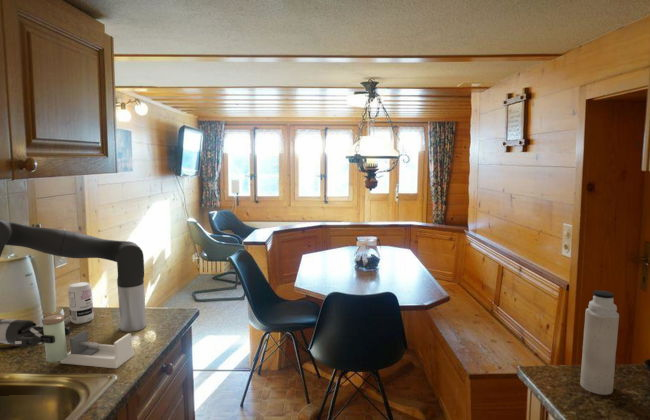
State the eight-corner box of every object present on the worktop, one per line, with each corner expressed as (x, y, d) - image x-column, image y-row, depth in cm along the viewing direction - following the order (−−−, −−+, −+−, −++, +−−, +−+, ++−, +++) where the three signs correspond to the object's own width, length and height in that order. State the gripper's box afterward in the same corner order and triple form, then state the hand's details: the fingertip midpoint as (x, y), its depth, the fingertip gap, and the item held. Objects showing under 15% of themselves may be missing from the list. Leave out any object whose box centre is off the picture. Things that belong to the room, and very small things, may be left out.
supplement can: (76, 317, 183) (73, 281, 181) (97, 316, 184) (94, 281, 182) (66, 324, 175) (63, 287, 173) (89, 323, 176) (86, 287, 174)
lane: (60, 363, 143) (58, 339, 142) (81, 350, 152) (79, 328, 151) (116, 368, 139) (114, 344, 138) (134, 355, 148) (132, 332, 147)
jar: (48, 355, 140) (44, 315, 138) (69, 352, 142) (65, 313, 140) (43, 363, 134) (39, 322, 133) (65, 360, 136) (61, 320, 135)
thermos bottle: (599, 379, 131) (607, 287, 127) (619, 394, 123) (628, 296, 119) (574, 380, 130) (580, 288, 127) (592, 395, 122) (600, 297, 119)
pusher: (71, 358, 143) (69, 338, 142) (85, 349, 150) (84, 330, 149) (90, 360, 142) (88, 340, 141) (104, 350, 148) (102, 331, 147)
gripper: (-8, 329, 132) (41, 333, 129) (32, 312, 146) (77, 315, 143) (-5, 353, 133) (44, 357, 130) (35, 333, 147) (79, 337, 144)
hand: (61, 335), depth 137 cm, fingers closed on jar, 5 cm apart
